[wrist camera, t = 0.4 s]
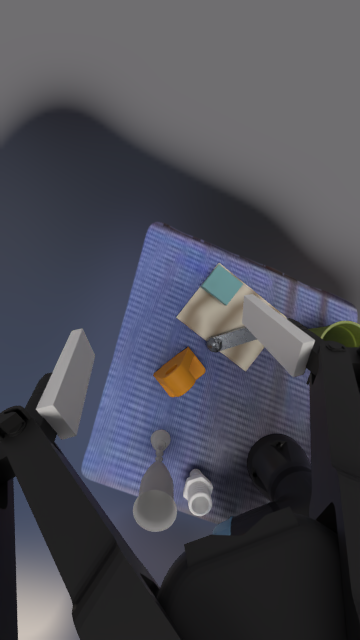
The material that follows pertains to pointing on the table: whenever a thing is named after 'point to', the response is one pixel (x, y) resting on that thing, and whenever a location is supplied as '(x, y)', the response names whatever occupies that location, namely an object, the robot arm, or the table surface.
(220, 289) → the block
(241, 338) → the link
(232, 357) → the base board
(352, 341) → the plant pot
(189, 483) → the pipe fitting
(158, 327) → the table surface
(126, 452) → the table surface
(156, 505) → the chalice
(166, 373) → the bracket
